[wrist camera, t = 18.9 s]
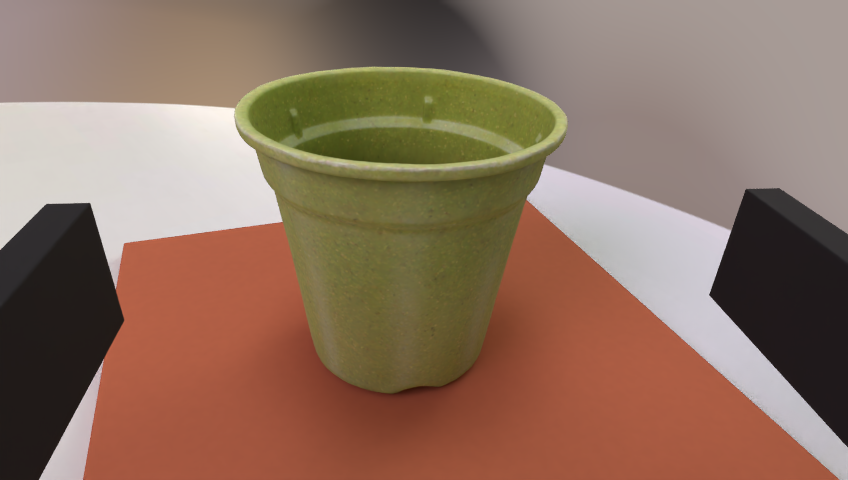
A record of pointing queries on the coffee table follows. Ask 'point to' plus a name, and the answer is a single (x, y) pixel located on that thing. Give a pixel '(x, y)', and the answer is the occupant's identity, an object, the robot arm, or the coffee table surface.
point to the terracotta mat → (419, 406)
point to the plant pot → (399, 208)
